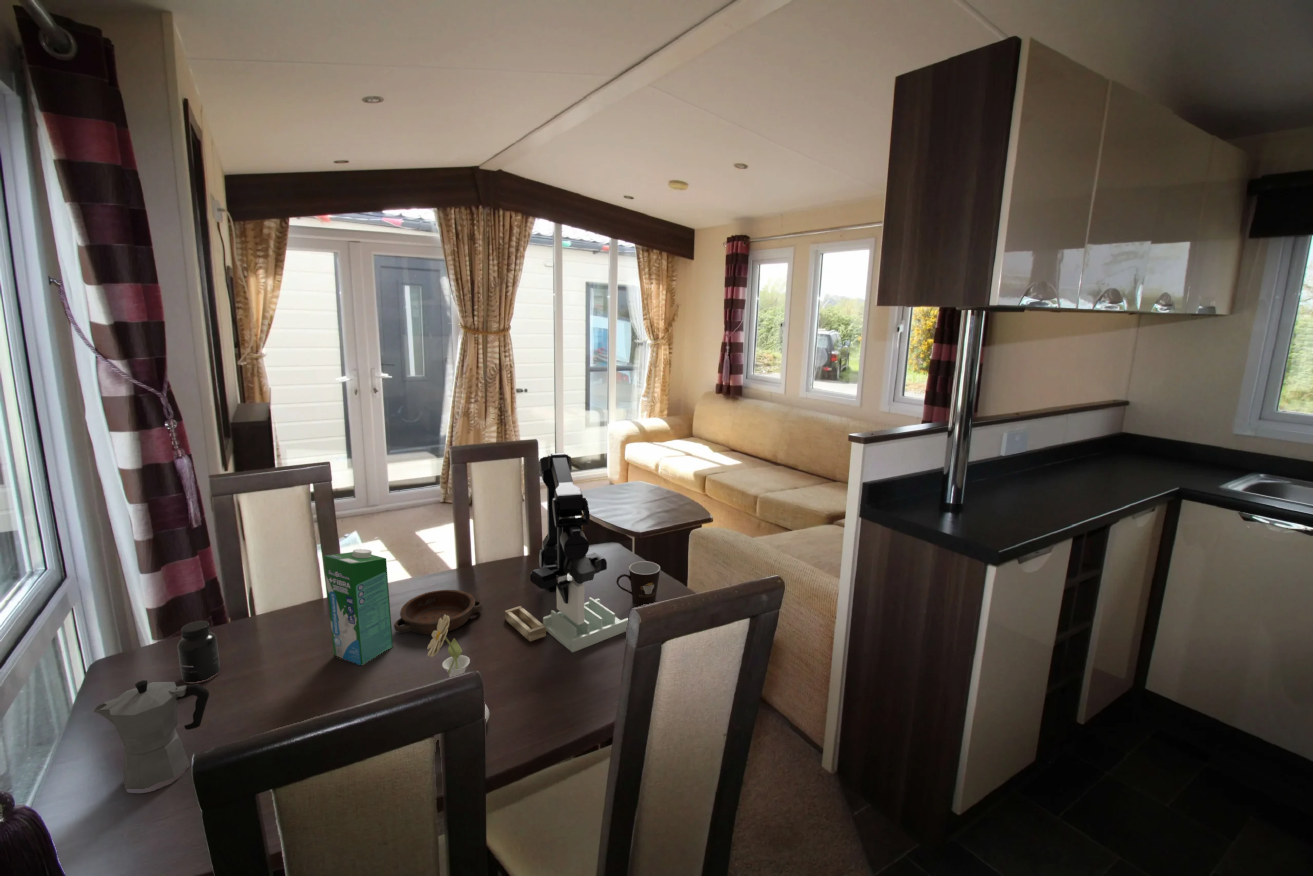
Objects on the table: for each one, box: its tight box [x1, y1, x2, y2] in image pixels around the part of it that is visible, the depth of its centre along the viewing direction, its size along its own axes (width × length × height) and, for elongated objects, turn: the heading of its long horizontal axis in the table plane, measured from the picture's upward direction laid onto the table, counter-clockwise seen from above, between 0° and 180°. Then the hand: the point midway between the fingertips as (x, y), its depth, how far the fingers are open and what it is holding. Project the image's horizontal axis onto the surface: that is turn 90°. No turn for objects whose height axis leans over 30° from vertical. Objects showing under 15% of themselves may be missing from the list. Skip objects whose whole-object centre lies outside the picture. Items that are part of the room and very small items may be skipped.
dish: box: [393, 589, 483, 635], centre depth 156 cm, size 18×22×5 cm
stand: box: [504, 605, 547, 642], centre depth 155 cm, size 13×4×2 cm, turn 40°
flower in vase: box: [426, 615, 490, 723], centre depth 115 cm, size 13×11×25 cm
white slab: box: [556, 574, 585, 625], centre depth 150 cm, size 10×2×10 cm, turn 40°
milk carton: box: [323, 548, 394, 666], centre depth 140 cm, size 9×9×25 cm
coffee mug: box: [615, 560, 661, 607], centre depth 169 cm, size 12×9×10 cm
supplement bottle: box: [176, 620, 221, 682], centre depth 131 cm, size 7×7×12 cm
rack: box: [542, 597, 628, 653], centre depth 154 cm, size 14×17×5 cm
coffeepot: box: [93, 680, 210, 790], centre depth 104 cm, size 15×9×18 cm, turn 114°
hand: (569, 602), depth 150 cm, fingers closed on white slab, 2 cm apart
